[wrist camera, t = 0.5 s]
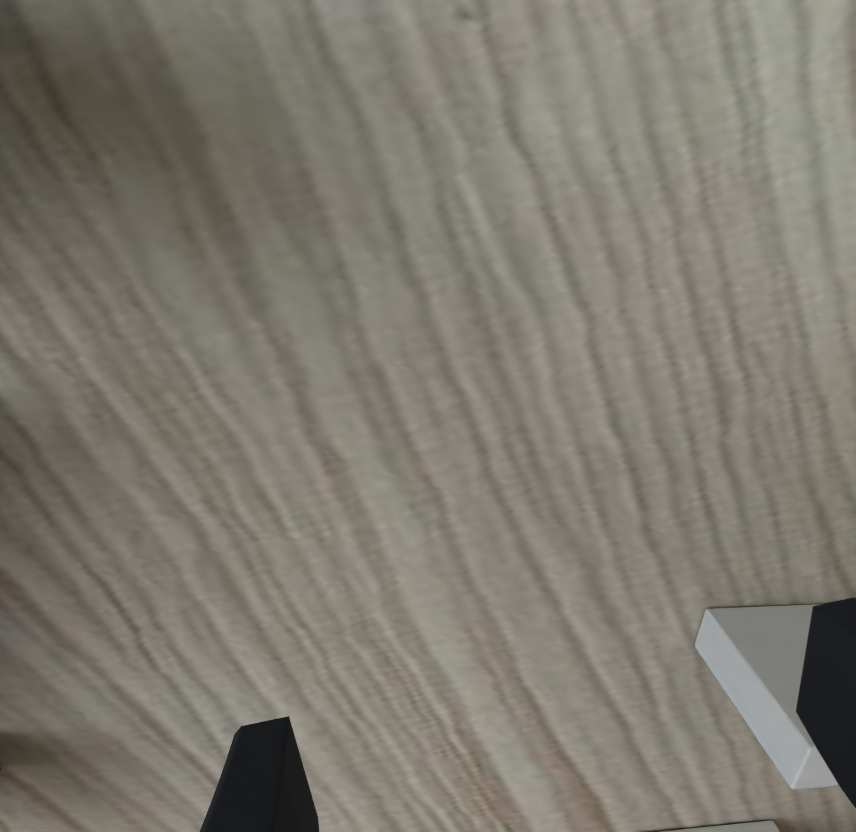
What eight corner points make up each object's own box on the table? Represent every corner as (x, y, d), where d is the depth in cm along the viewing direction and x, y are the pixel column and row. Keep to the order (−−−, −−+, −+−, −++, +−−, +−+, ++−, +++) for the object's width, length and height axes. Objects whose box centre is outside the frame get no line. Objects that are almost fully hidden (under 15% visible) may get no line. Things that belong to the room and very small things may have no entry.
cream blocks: (761, 845, 30) (850, 995, 25) (625, 859, 29) (690, 1019, 24) (867, 601, 24) (1007, 733, 20) (704, 607, 23) (809, 748, 19)
